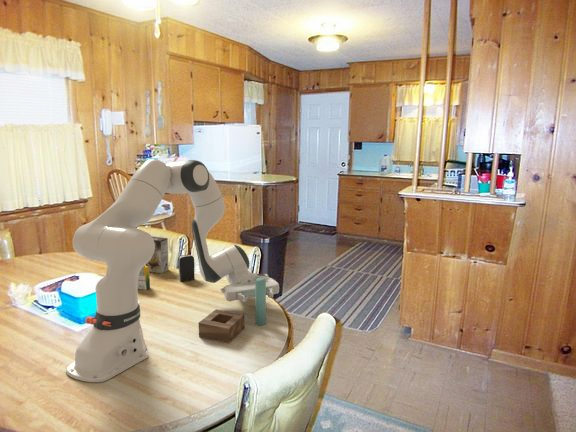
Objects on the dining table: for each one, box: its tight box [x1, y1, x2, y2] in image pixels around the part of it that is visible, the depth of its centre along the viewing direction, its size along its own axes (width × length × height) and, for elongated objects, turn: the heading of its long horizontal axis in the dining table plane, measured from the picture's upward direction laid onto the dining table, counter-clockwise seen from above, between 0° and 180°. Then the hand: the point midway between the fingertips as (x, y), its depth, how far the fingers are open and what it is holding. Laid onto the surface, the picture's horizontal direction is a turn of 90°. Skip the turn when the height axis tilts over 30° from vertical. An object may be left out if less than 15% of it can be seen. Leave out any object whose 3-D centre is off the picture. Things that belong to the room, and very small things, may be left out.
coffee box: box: [145, 235, 170, 274], centre depth 191 cm, size 9×6×16 cm
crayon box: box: [137, 265, 151, 291], centre depth 170 cm, size 7×3×12 cm, turn 74°
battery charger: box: [177, 254, 195, 282], centre depth 180 cm, size 7×4×11 cm, turn 121°
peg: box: [254, 278, 267, 326], centre depth 138 cm, size 4×4×16 cm
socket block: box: [198, 308, 246, 344], centre depth 132 cm, size 11×11×5 cm
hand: (259, 297), depth 139 cm, fingers open, 8 cm apart
